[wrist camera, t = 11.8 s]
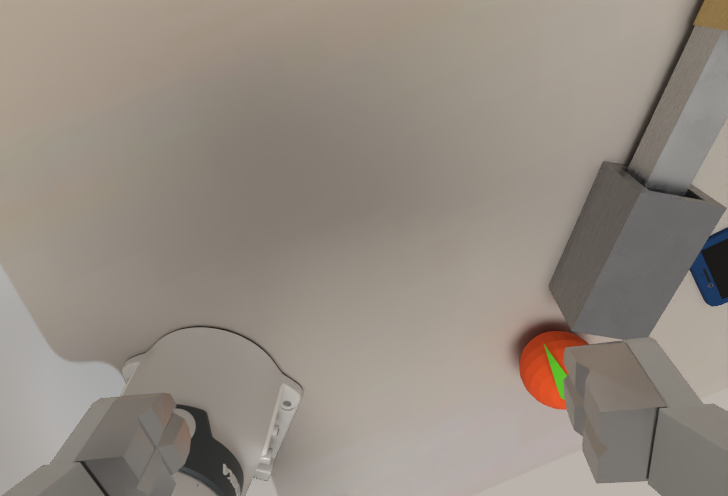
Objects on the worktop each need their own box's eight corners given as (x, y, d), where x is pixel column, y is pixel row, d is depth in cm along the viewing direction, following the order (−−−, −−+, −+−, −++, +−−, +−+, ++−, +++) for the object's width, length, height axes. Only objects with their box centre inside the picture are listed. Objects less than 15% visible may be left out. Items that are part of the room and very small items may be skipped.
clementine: (495, 326, 45) (512, 381, 39) (565, 296, 43) (595, 349, 37) (528, 379, 48) (548, 437, 42) (595, 353, 46) (627, 411, 40)
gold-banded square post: (655, 198, 37) (693, 229, 32) (614, 191, 37) (645, 221, 32) (808, -95, 28) (891, -109, 23) (752, -106, 28) (825, -123, 23)
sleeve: (612, 297, 43) (644, 343, 38) (548, 286, 43) (571, 331, 37) (677, 174, 37) (726, 208, 32) (603, 161, 37) (640, 192, 31)
